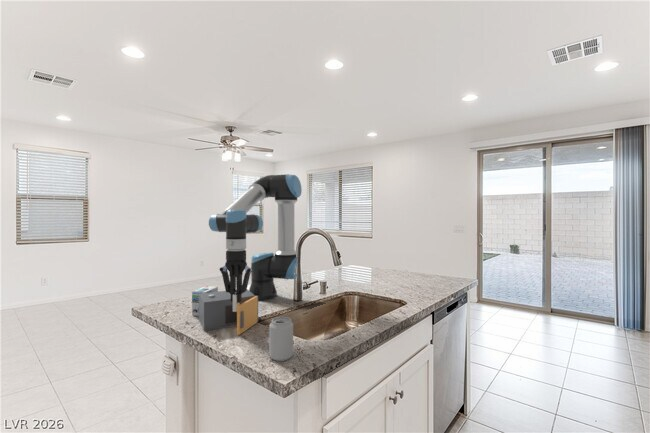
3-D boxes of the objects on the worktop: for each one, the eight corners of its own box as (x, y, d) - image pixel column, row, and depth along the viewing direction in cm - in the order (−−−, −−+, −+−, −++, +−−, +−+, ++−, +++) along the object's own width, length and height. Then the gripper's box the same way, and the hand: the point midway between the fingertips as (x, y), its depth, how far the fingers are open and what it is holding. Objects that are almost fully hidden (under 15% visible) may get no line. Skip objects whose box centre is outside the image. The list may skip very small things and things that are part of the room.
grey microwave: (248, 312, 143) (248, 286, 143) (258, 321, 131) (258, 294, 131) (198, 319, 133) (198, 292, 133) (204, 331, 120) (204, 301, 120)
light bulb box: (205, 316, 137) (205, 292, 136) (191, 315, 138) (191, 291, 138) (218, 309, 147) (218, 286, 147) (205, 308, 148) (205, 285, 148)
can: (264, 360, 98) (264, 321, 97) (276, 350, 105) (276, 314, 104) (286, 364, 95) (286, 324, 95) (297, 353, 102) (297, 316, 102)
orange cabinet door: (256, 320, 131) (256, 295, 130) (260, 321, 130) (260, 296, 130) (236, 334, 116) (236, 306, 116) (241, 335, 116) (241, 306, 116)
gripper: (215, 250, 119) (215, 312, 120) (247, 251, 117) (247, 314, 117) (225, 248, 127) (225, 306, 127) (255, 249, 124) (255, 308, 125)
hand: (236, 310), depth 122 cm, fingers closed
